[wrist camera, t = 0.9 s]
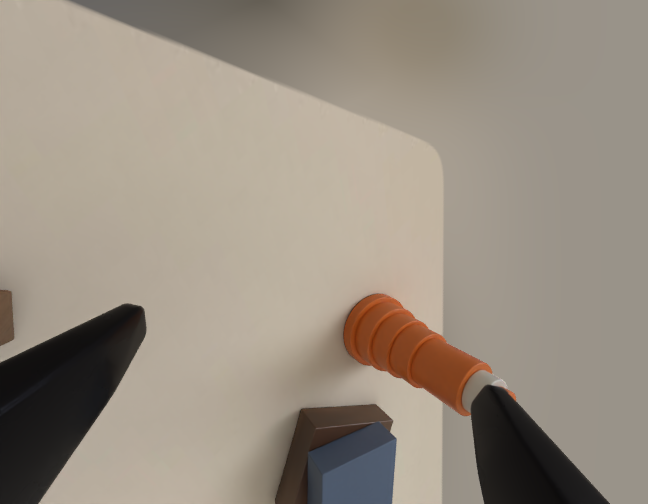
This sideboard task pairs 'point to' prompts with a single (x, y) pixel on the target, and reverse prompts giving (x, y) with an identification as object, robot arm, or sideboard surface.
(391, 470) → the top block
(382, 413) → the base block
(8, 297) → the wooden block set
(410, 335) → the cone
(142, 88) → the sideboard surface
